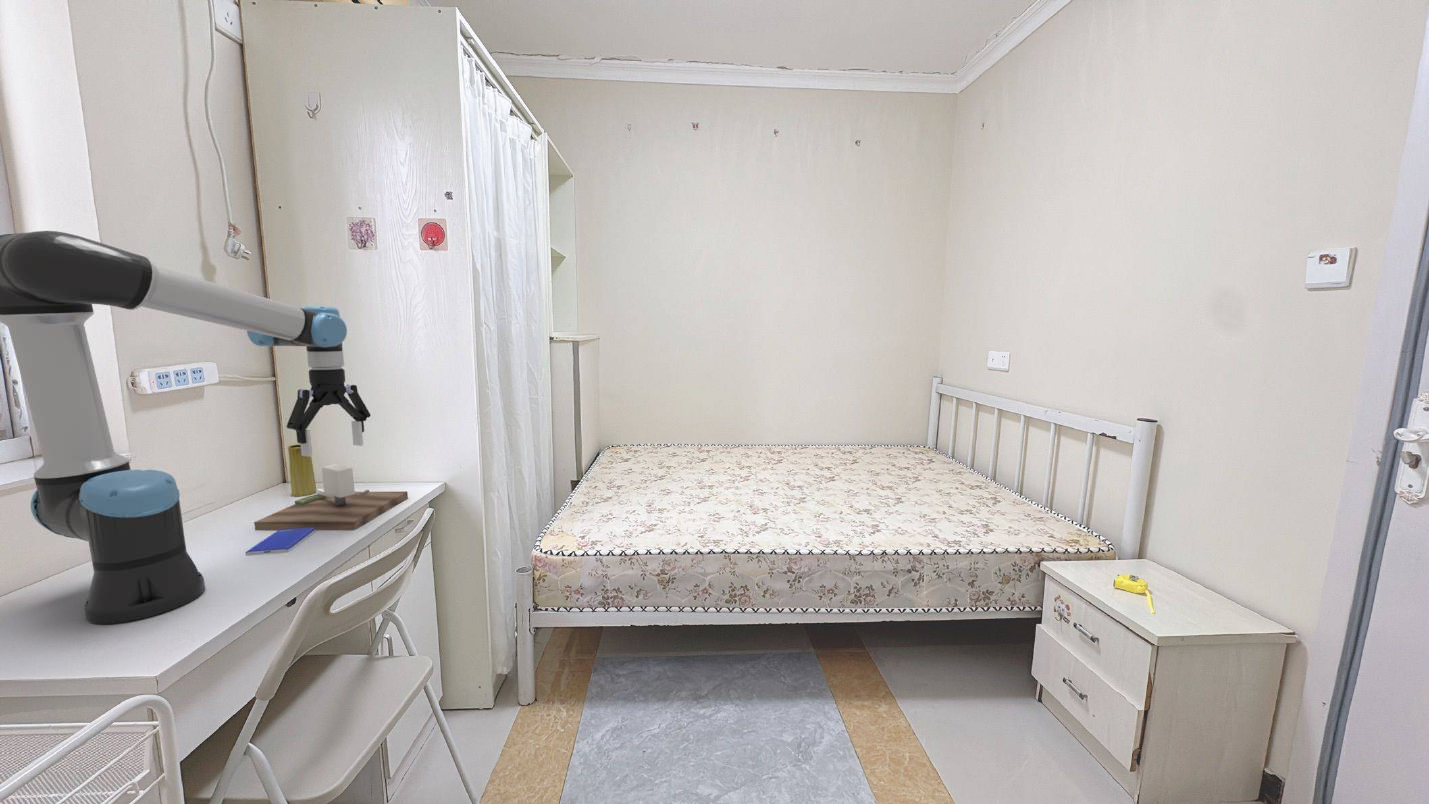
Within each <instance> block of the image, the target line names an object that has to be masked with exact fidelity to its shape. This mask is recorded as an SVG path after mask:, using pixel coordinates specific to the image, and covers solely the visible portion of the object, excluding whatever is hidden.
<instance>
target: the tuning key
mask: <svg viewBox="0 0 1429 804" xmlns="http://www.w3.org/2000/svg"><path fill="white" fill-rule="evenodd" d="M321 475H322V483H323V488H320V487H319V488H316V492H315V494H321V495H324V496H327V497H330V498H333V499H335V506H342V505H345V504H346V497H345V496H349V495H353V494H355V492H356V490H355V484H354V483H355V481H354V472H353V467H350V466H346V465H342V464H338V463H334V464H329V465H326V466H321Z"/></svg>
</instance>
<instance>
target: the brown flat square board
mask: <svg viewBox="0 0 1429 804" xmlns="http://www.w3.org/2000/svg"><path fill="white" fill-rule="evenodd" d="M408 495H409V494H408V491H405V490H404V491H402V490H401V491H370V489H365V490H364V491H363V490H362V491H355V494H353V495H349V496H345V497H346V504H345V505H342V506H335V499H333V498H330V497H327V496H324V495H321V494H318V493H315V494H313V495H312V494H311V495H310V496H309V495H308V496H304V497H302V498H300V499H297V500H295V501H294V504H292V505H290V506H287V507H285V508H283V509H280V510H278V511H276V512H273V513H271V514H270V515H267V516H265V517H263V518H260V519H258V520H255V521H254V522H253V523H254V530H255V531H278V530H288V529H301V528H315V529H316V531H328V530H329V531H330V530H331V531H334V530H335V531H339V530H341V531H342V530H343V531H346V530H347V531H350V530H352V531H353V530H354V531H356V530H357V529H358V528H361V527H362V526H363V525H365V524H367V523H369V522H370V521H371V520H373V519H375V518H377V517H379V516H381V515H382V514H384V513H386V512H387V511H390V510H391V509H392V508H394V507H396V506H397V505H399V504H401V503H403V502H404V501H406V500H407V499H409V496H408Z"/></svg>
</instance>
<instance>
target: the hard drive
mask: <svg viewBox="0 0 1429 804" xmlns="http://www.w3.org/2000/svg"><path fill="white" fill-rule="evenodd" d="M316 531H317V530H316V529H315V528H301V529H288V530H275V532H274V533H272V534H270V535H269V536H267V537H266V538H264V539H263V540H262V541H260V542H259V543H257V544H255V545H254V546H253V547H251V548H250V549H248V550H247V551H245V556H255V555H269V554H279V553H280V554H281V553H284V554H285V553H290V552H291V551H292V550H293V549H295V548H297V546H299V545H300V544H301V543H302V542H304V541H305V540H307V539H308V538H309V537H310V536H312V535H313V534H315V532H316Z"/></svg>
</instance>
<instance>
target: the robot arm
mask: <svg viewBox="0 0 1429 804" xmlns="http://www.w3.org/2000/svg"><path fill="white" fill-rule="evenodd" d="M93 305H101V306H102V305H103V306H112V307H115V308H116V307H117V308H122V309H126V310H129V311H133V310H137V309H139V308H146V309H151V310H156V311H160V312H165V313H169V314H172V315H177V316H182V317H186V318H190V319H195V320H200V321H204V322H208V323H212V324H216V325H217V324H218V325H221V326H226V327H230V328H235V329H238V330H243V331H246V334H247V336H248V339H249V340H250V341H251V343H252V344H254V345H256V346H258V347H270V348H271V347H306V356H307V366H308V368H311V369H309V370H308V379H309V381H308V382H309V384H310V386H311V387H310V390H309V389H302V388H301V389H298V390H297V396H296V397H297V399H296V401H295V403H294V405H293V408H292V411H291V412H290V413H291V414H290V416H289V419H288V421H287V424H286V428H287V429H289V430H293V431H295V433H296V441H297V444H301V454H302V456H308V457H310V456H311V457H313V448H312V438H311V430H310V429H308V427H309V426H310V425H311V423H312V422H313V420H314V418H315V417H316V415H317V414H318V412H319V411H320V410H321V409H322V408H323V407H324V406H330V405H339V406H340V407H341V409H343V410H344V411H345V412H346V413H347V414H348V415H350V417H351V418H352V419H353V420H351V434H352V445H353V446H359V447H362V446H364V440H363V439H364V438H363V433H364V432H365V422H366V421H367V418H370V417H371V413H370V411H369V409H368V408H367V406H366V404H365V403H364V401H363V399H362V397H361V395H360V394H359V392H358V387H357V385H356V384H346V385H345V383H346V371H345V369H344V368H343V367H344V366H345V361H344V360H345V359H344V358H345V357H344V351H343V342H345V340H346V337H347V334H348V333H347V332H348V329H347V325H346V322H345V321H344V320H343V319H342V318H341V316H340V311H339V309H338V308H337V307H335V306H319V305H318V306H317V305H316V306H315V305H314V306H312V305H311V306H304V307H303V308H302V307H298V306H295V305H292V304H288V303H284V302H281V301H278V300H274V299H270V298H267V297H264V296H260V295H257V294H253V293H250V292H247V291H243V290H239V289H238V288H237V289H236V288H234V287H233V288H232V287H230V286H226V285H222V284H218V283H216V282H212V281H210V280H209V281H208V280H206V279H202V278H199V277H194V276H192V275H187V274H185V273H181V272H179V271H178V272H177V271H173V270H171V269H167V268H163V267H161V266H157V265H155V264H154V262H153V261H152V260H151V259H150V258H149V257H146V256H143V255H139V254H137V253H134V252H130V251H126V250H124V249H121V248H117V247H114V246H112V245H108V244H105V243H103V242H99V241H96V240H92V239H90V238H86V237H83V236H79V235H76V234H71V233H67V232H63V231H57V230H55V231H54V230H39V231H37V230H36V231H30V232H29V231H28V232H20V233H19V232H16V233H5V234H0V323H1V324H4V325H5V326H6V327H7V329H8V332H9V336H10V339H11V343H12V346H13V347H12V348H13V349H14V354H15V359H16V363H17V365H18V370H19V373H20V377H21V382H22V385H23V388H24V392H25V397H26V400H27V403H28V407H29V411H30V415H31V419H32V422H33V423H32V424H33V427H34V430H35V434H36V437H37V442H38V446H39V449H40V453H41V457H42V461H43V464H42V465H41V466H40V467H39V468H38V469H37V470H36V471H35V472H34V473H33V478H34V484H35V486H36V490H35V491H34V493H33V495H32V497H31V499H30V500H31V501H30V510H31V514H32V516H33V518H34V520H35V521H36V522H37V523H38V524H39V525H40V526H42V527H43V528H44V529H46V530H47V531H50V532H51V533H53V534H55V535H58V536H62V537H66V538H72V539H78V540H82V541H84V542H88V545H89V551H90V557H91V562H92V568H93V576H92V579H91V582H90V583H91V584H90V588H89V589H90V590H89V593H88V594H89V595H88V598H87V599H86V601H85V604H84V613H85V614H84V615H85V618H86V619H85V620H87V621H88V622H89V623H92V624H95V625H96V624H99V625H110V624H111V625H112V624H120V623H128V622H132V621H137V620H141V619H145V618H150V617H154V616H157V615H160V614H163V613H166V612H169V611H172V610H174V609H177V608H179V607H181V606H182V607H183V605H187V604H188V603H191V602H192V601H194V600H195V599H196V598H198V597H200V596H201V595H202V594H203V593H204V592H205V590H206V586H205V579H204V576H203V574H202V573H201V571H198V570H199V569H198V568H197V566H196V563H194V561H193V559H192V557H191V556H190V555H189V553H188V550H187V546H186V545H187V544H186V540H185V531H184V530H185V529H184V523H183V517H182V509H181V508H182V507H181V502H180V495H181V494H180V489H179V488H178V486H177V481H176V480H175V477H174V476H173V475H171V474H169V473H167V472H165V471H162V470H156V469H144V470H142V469H131V466H130V461H129V458H128V457H125V456H123V455H122V454H119V453H117V452H116V451H115V449H114V446H113V441H112V437H111V432H110V427H109V424H108V420H107V415H106V411H105V408H104V402H103V398H102V394H101V391H100V385H99V383H98V377H97V373H96V370H95V366H94V365H95V364H94V362H93V357H92V352H91V349H90V345H89V341H88V335H87V332H86V327H85V324H86V321H88V320H89V319H90V318H91V317H92V316H93V315H94V314H95V312H94V308H93ZM345 394H347V397H349V399H348V398H347V397H346V396H345ZM311 397H312V399H311V400H310V398H311ZM350 401H351V402H350ZM307 406H308V407H307Z"/></svg>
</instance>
